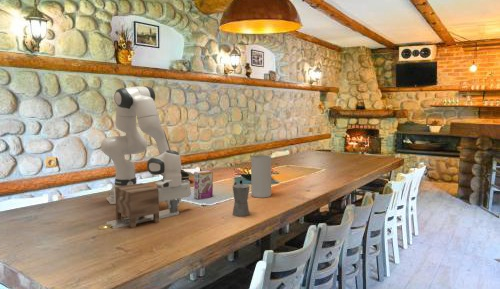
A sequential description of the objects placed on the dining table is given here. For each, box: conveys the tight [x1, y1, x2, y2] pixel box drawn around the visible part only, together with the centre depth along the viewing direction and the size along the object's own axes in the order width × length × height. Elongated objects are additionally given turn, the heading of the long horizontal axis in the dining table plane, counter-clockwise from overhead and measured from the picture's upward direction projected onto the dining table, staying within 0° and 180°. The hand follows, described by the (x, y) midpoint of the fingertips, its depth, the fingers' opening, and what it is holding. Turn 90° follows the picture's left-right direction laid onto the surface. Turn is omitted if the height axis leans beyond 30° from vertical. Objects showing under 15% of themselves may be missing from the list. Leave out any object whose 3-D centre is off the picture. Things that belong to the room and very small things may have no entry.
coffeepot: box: [232, 179, 250, 217], centre depth 199 cm, size 15×9×18 cm, turn 25°
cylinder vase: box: [250, 154, 272, 199], centre depth 238 cm, size 12×12×25 cm
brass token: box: [98, 223, 111, 231], centre depth 176 cm, size 5×5×1 cm
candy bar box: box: [193, 169, 214, 200], centre depth 234 cm, size 11×5×16 cm, turn 135°
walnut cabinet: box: [115, 182, 160, 229], centre depth 186 cm, size 18×15×16 cm
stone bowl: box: [159, 168, 194, 180], centre depth 281 cm, size 25×25×9 cm
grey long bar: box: [106, 199, 180, 230], centre depth 189 cm, size 36×8×7 cm, turn 132°
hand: (173, 207), depth 200 cm, fingers closed on grey long bar, 3 cm apart
